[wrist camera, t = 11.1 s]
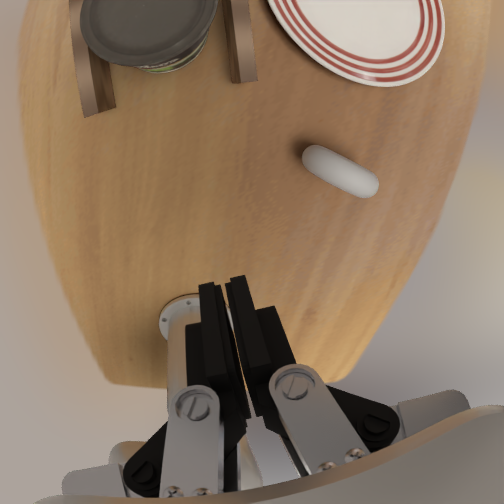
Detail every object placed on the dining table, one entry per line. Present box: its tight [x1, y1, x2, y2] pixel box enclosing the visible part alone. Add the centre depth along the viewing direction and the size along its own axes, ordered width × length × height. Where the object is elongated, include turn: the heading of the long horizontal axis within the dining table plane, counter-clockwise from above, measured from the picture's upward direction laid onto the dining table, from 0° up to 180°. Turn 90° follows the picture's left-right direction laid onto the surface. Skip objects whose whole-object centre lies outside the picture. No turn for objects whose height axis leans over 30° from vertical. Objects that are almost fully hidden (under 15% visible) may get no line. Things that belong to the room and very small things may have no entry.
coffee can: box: [80, 0, 218, 73], centre depth 20 cm, size 10×10×14 cm
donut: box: [302, 145, 379, 198], centre depth 34 cm, size 10×4×10 cm, turn 67°
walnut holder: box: [69, 0, 258, 118], centre depth 21 cm, size 16×17×11 cm
